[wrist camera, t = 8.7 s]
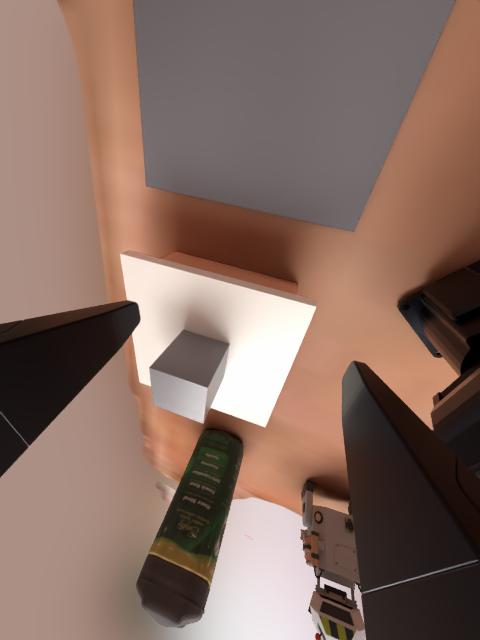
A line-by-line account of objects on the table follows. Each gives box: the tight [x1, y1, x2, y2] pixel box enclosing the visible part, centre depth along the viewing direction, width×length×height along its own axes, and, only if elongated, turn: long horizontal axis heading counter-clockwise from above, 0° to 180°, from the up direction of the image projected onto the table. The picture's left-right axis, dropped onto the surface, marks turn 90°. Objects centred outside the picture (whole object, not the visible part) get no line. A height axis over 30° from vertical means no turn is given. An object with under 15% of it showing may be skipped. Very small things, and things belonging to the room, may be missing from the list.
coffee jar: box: [136, 430, 243, 628], centre depth 29 cm, size 10×8×19 cm
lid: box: [120, 251, 317, 427], centre depth 16 cm, size 14×14×6 cm
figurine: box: [301, 482, 365, 640], centre depth 30 cm, size 9×12×15 cm
